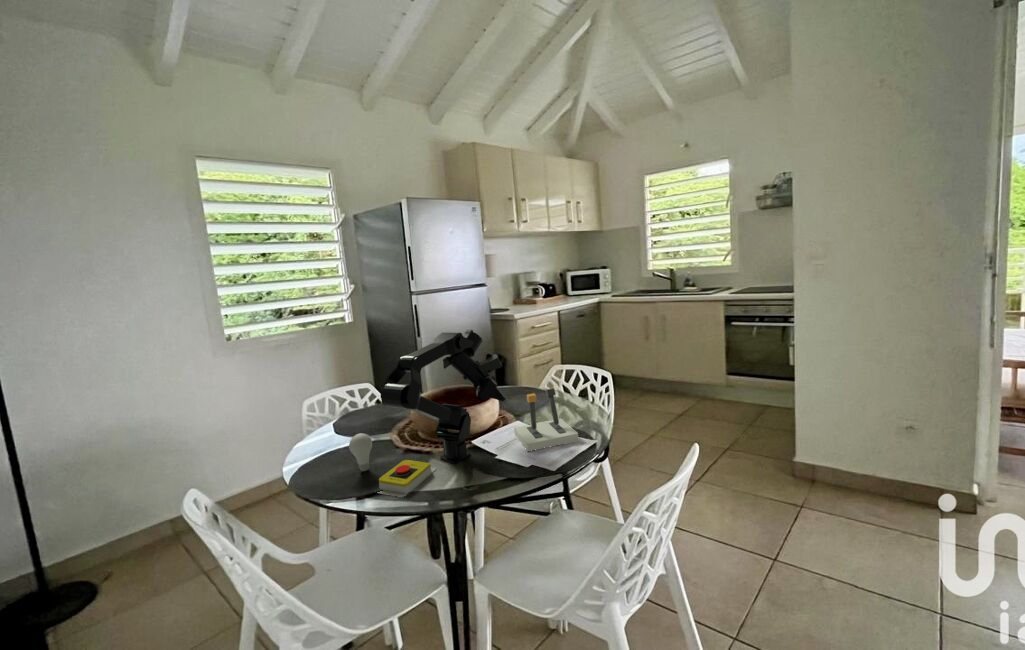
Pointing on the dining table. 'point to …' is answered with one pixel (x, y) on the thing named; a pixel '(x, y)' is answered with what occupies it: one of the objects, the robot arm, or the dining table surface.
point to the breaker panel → (546, 430)
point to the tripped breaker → (532, 409)
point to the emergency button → (404, 477)
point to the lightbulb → (361, 450)
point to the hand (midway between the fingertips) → (504, 399)
